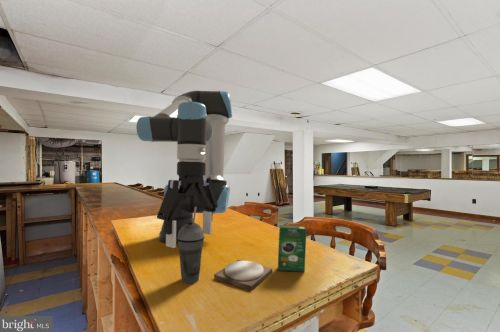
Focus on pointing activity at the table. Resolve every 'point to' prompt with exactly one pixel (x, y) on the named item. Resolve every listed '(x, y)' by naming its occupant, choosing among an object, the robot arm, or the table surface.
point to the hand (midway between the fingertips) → (190, 239)
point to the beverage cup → (190, 251)
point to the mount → (243, 274)
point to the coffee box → (292, 248)
